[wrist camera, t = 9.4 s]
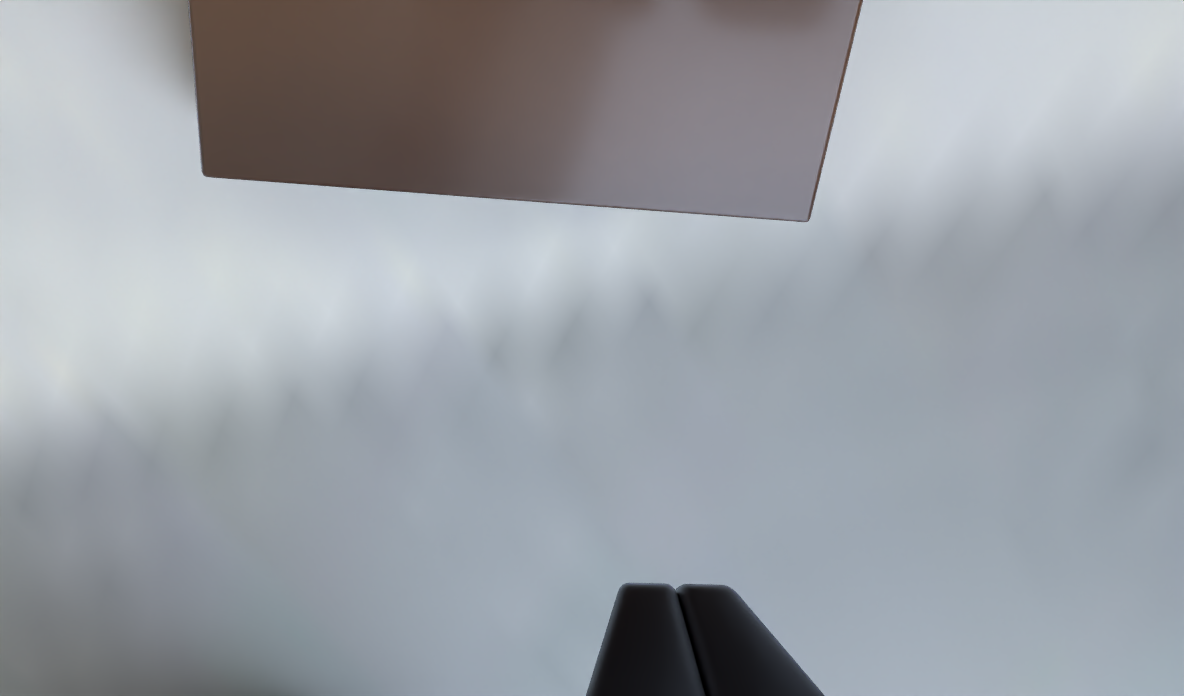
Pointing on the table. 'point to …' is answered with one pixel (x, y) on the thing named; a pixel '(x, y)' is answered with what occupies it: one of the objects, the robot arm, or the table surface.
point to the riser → (528, 98)
